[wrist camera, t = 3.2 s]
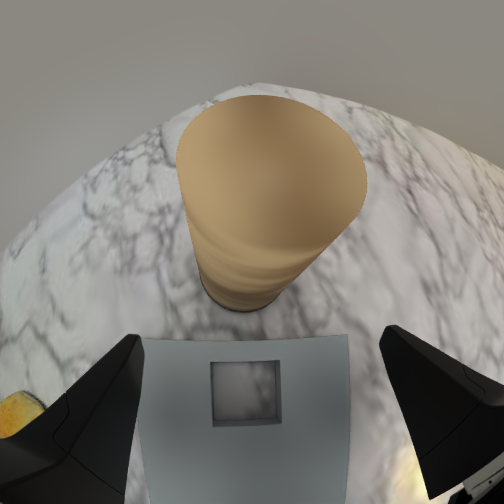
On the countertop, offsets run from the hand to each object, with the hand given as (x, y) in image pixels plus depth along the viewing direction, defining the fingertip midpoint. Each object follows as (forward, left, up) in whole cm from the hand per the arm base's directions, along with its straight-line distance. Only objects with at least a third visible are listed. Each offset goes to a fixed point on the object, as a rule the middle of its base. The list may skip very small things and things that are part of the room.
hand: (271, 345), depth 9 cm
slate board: (-3, -7, -12) cm, 15 cm away
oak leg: (+2, +5, -12) cm, 14 cm away
